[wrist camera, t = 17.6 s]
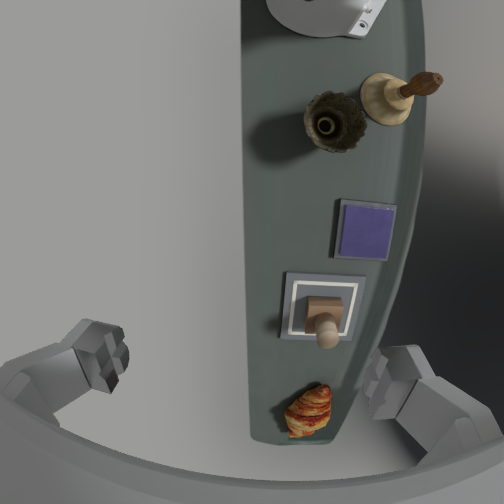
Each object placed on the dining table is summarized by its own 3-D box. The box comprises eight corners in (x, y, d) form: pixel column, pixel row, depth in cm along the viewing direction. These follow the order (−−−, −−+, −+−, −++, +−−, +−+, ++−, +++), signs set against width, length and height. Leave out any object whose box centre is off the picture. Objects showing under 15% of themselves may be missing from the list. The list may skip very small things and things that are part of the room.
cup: (328, 162, 38) (340, 166, 30) (288, 128, 37) (290, 124, 29) (360, 125, 35) (378, 121, 28) (320, 91, 34) (330, 78, 27)
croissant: (302, 421, 63) (316, 443, 57) (268, 431, 59) (282, 456, 53) (334, 369, 55) (355, 395, 49) (296, 379, 51) (316, 409, 44)
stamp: (307, 295, 45) (312, 324, 38) (340, 296, 45) (350, 325, 37) (303, 323, 47) (307, 353, 40) (335, 324, 47) (342, 354, 39)
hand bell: (360, 122, 35) (407, 111, 20) (358, 69, 32) (400, 33, 17) (410, 129, 34) (472, 127, 20) (408, 78, 32) (466, 55, 17)
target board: (286, 271, 44) (286, 273, 44) (365, 275, 43) (366, 277, 43) (280, 336, 49) (280, 339, 48) (350, 338, 48) (351, 341, 48)
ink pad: (339, 198, 40) (342, 200, 38) (394, 204, 39) (398, 206, 37) (333, 255, 43) (334, 259, 41) (385, 259, 42) (388, 263, 41)
